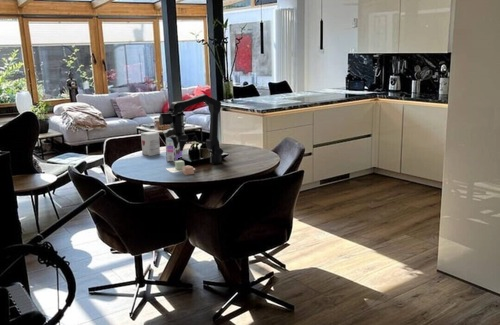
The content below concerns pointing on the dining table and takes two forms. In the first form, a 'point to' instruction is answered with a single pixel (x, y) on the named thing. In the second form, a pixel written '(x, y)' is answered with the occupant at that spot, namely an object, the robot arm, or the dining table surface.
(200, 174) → the dining table surface
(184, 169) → the terracotta block
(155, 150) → the supplement box
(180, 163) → the green cube
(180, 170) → the letter
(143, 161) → the dining table surface
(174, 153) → the candy box
